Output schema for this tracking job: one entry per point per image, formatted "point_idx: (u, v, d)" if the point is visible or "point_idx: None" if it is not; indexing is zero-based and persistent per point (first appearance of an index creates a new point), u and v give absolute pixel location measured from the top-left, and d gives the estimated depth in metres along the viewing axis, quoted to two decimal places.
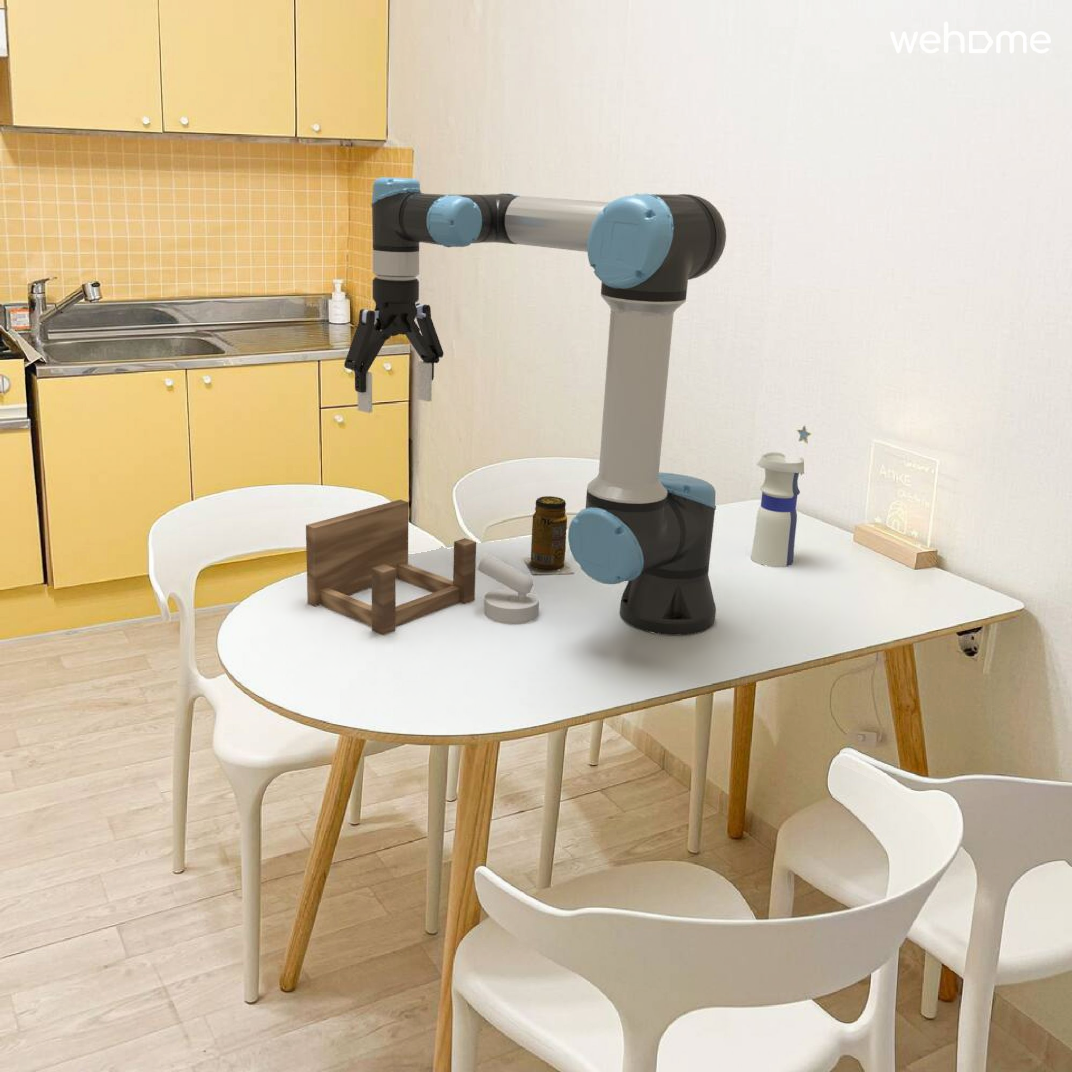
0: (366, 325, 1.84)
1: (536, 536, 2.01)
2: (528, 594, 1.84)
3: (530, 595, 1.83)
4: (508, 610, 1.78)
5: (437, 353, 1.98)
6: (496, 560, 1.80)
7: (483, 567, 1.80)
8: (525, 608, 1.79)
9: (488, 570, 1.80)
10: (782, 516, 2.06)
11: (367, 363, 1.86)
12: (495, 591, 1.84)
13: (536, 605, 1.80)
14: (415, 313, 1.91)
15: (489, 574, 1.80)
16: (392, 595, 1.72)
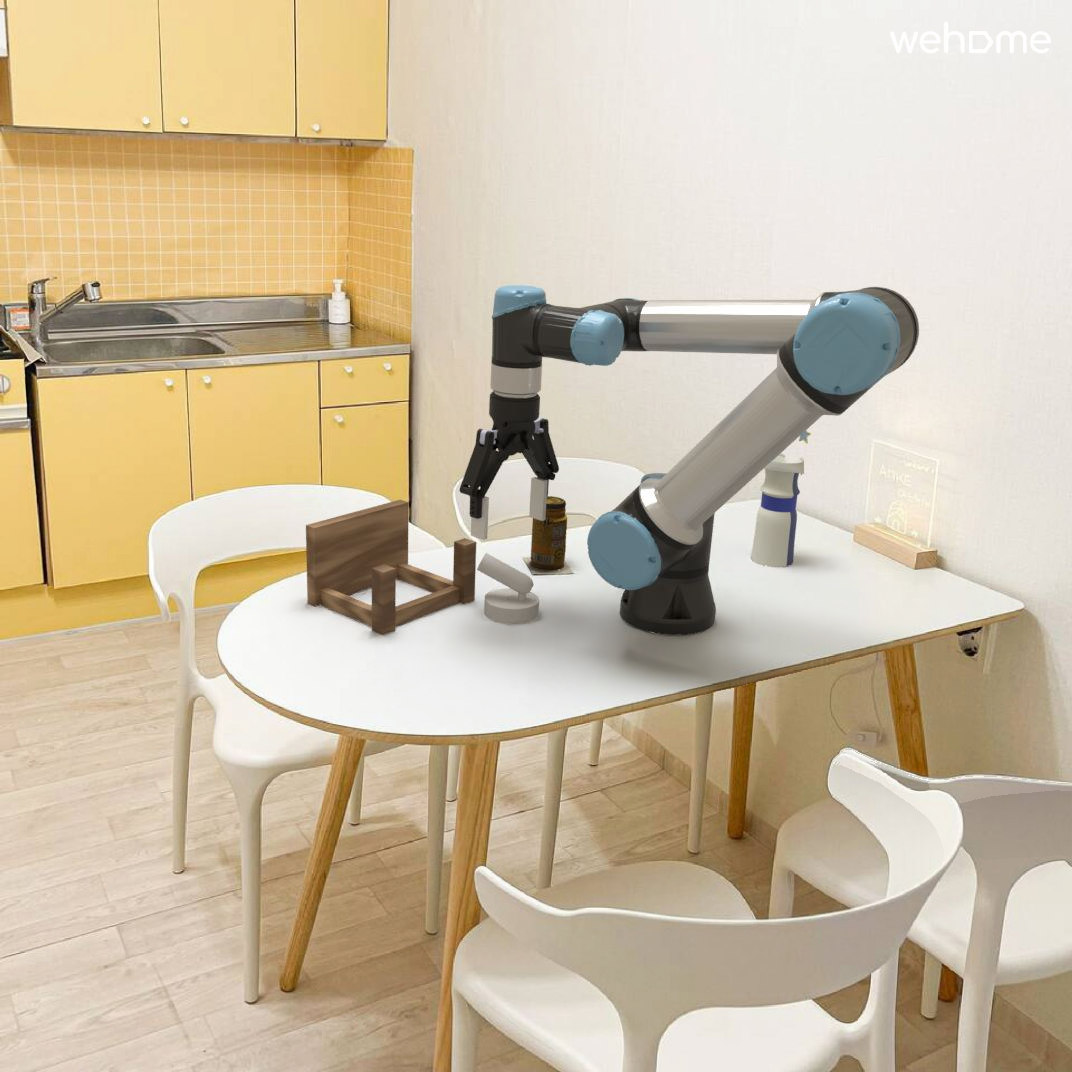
0: (484, 447, 1.68)
1: (536, 536, 2.01)
2: (528, 594, 1.84)
3: (530, 595, 1.83)
4: (508, 610, 1.78)
5: (552, 469, 1.82)
6: (496, 560, 1.80)
7: (483, 567, 1.80)
8: (525, 608, 1.79)
9: (488, 570, 1.80)
10: (782, 516, 2.06)
11: (484, 488, 1.70)
12: (495, 591, 1.84)
13: (536, 605, 1.80)
14: (533, 429, 1.75)
15: (489, 574, 1.80)
16: (392, 595, 1.72)
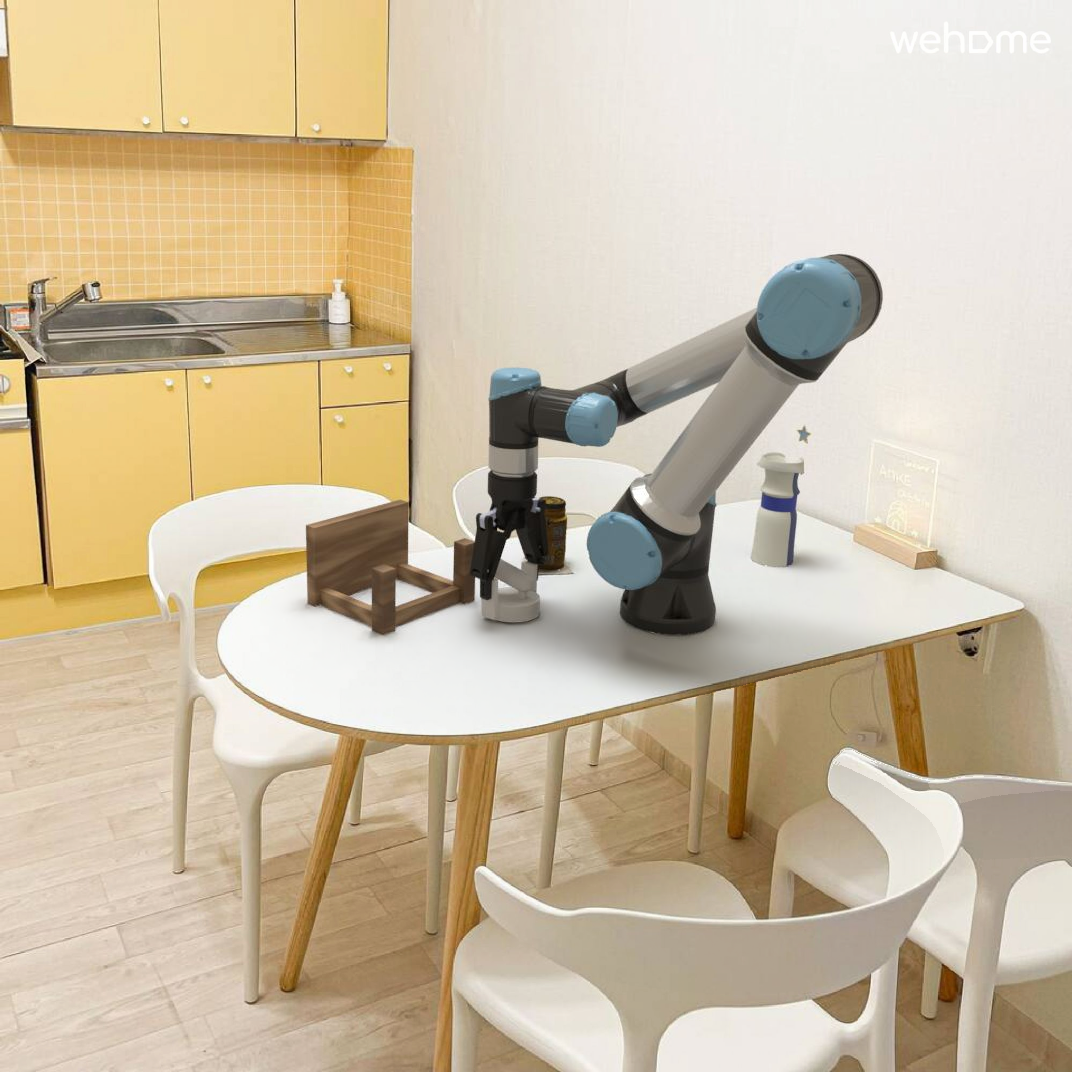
0: (486, 532, 1.73)
1: None
2: (529, 592, 1.83)
3: (531, 593, 1.83)
4: (508, 608, 1.77)
5: (542, 551, 1.84)
6: None
7: None
8: (526, 605, 1.78)
9: None
10: (782, 516, 2.06)
11: (492, 570, 1.75)
12: None
13: (537, 603, 1.80)
14: (531, 506, 1.79)
15: None
16: (392, 595, 1.72)
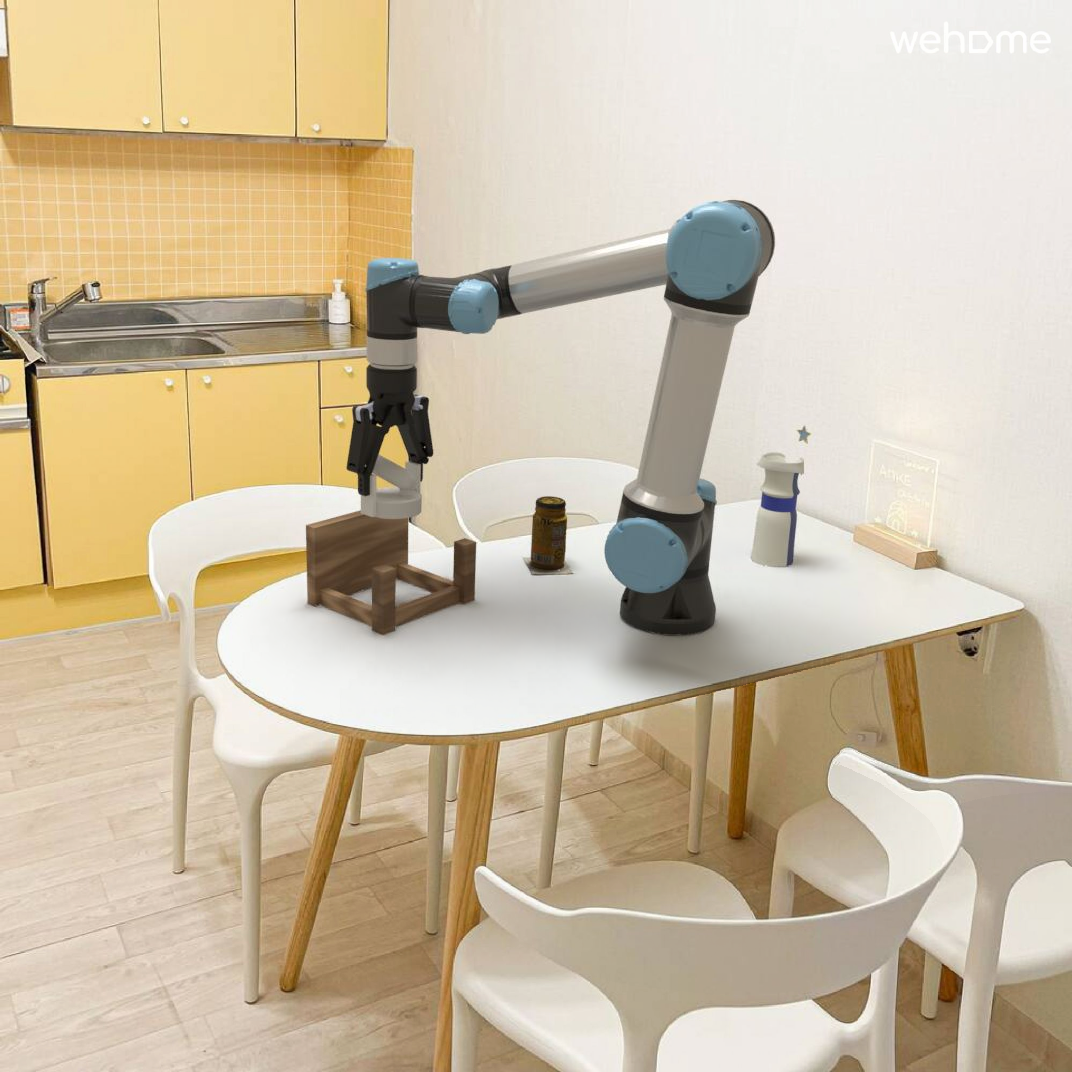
0: (362, 424, 1.70)
1: (536, 536, 2.01)
2: (412, 492, 1.81)
3: (413, 492, 1.80)
4: (387, 504, 1.75)
5: (427, 451, 1.82)
6: None
7: None
8: (405, 502, 1.76)
9: None
10: (782, 516, 2.06)
11: (370, 465, 1.73)
12: (379, 489, 1.82)
13: (417, 501, 1.77)
14: (412, 402, 1.77)
15: None
16: (392, 595, 1.72)
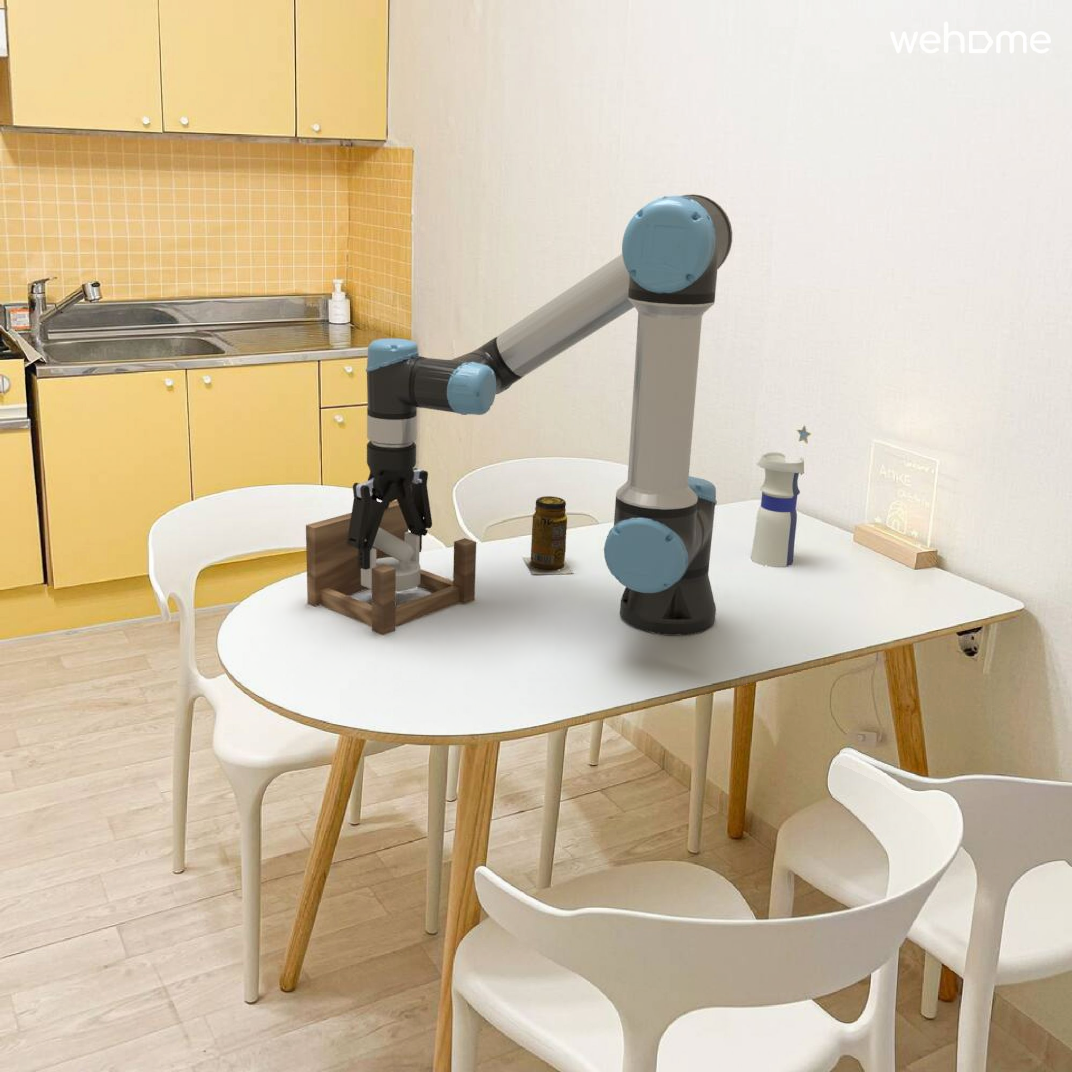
0: (362, 501, 1.74)
1: (536, 536, 2.01)
2: (411, 563, 1.85)
3: (412, 564, 1.84)
4: None
5: (426, 523, 1.86)
6: None
7: None
8: (404, 575, 1.79)
9: None
10: (782, 516, 2.06)
11: (370, 540, 1.77)
12: (379, 559, 1.85)
13: (416, 573, 1.81)
14: (411, 477, 1.80)
15: None
16: (392, 595, 1.72)
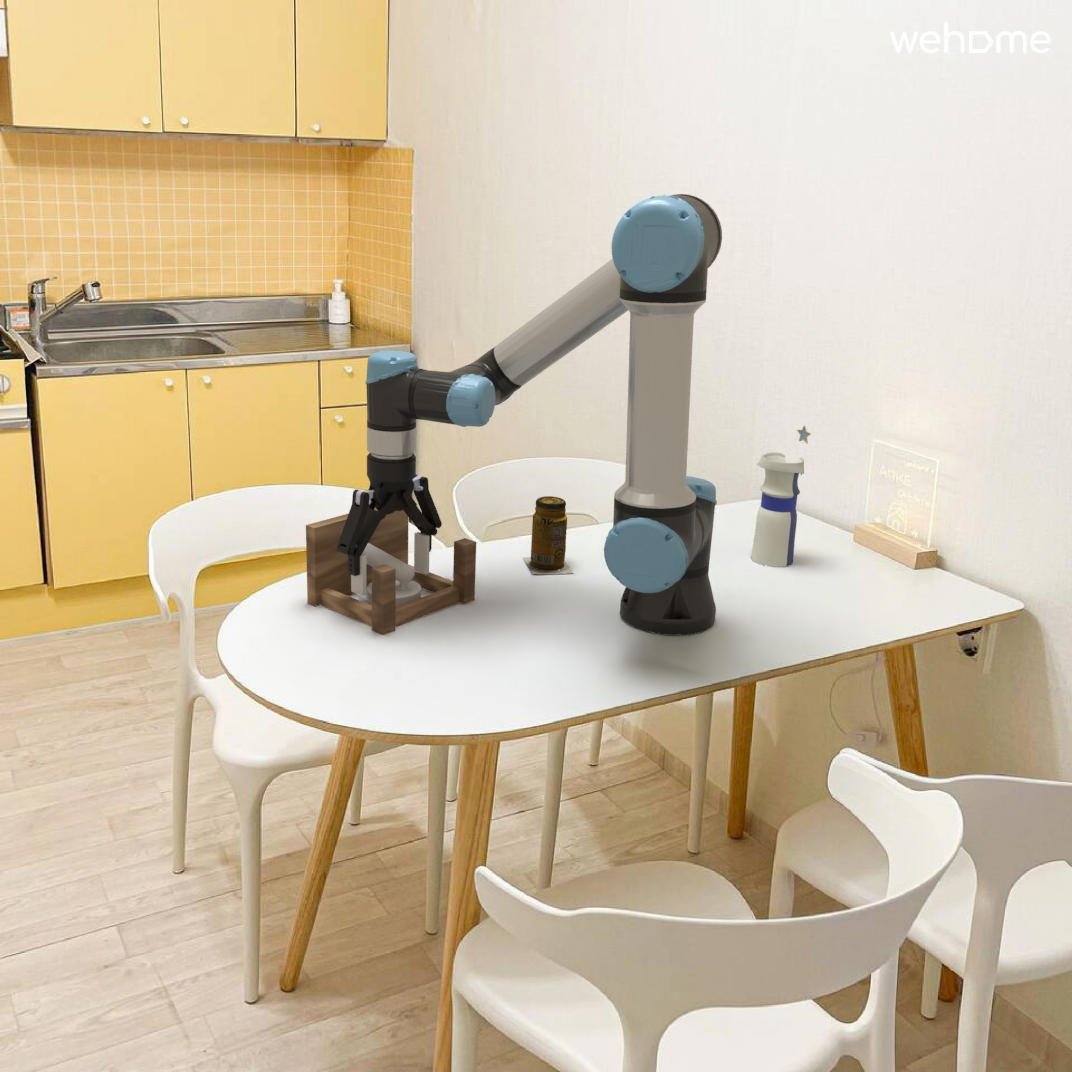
0: (360, 507, 1.74)
1: (536, 536, 2.01)
2: (411, 583, 1.86)
3: (413, 585, 1.85)
4: None
5: (435, 524, 1.87)
6: (377, 550, 1.82)
7: None
8: (404, 597, 1.81)
9: (369, 560, 1.82)
10: (782, 516, 2.06)
11: (361, 546, 1.76)
12: None
13: (417, 594, 1.82)
14: (412, 488, 1.81)
15: (370, 564, 1.82)
16: (392, 595, 1.72)
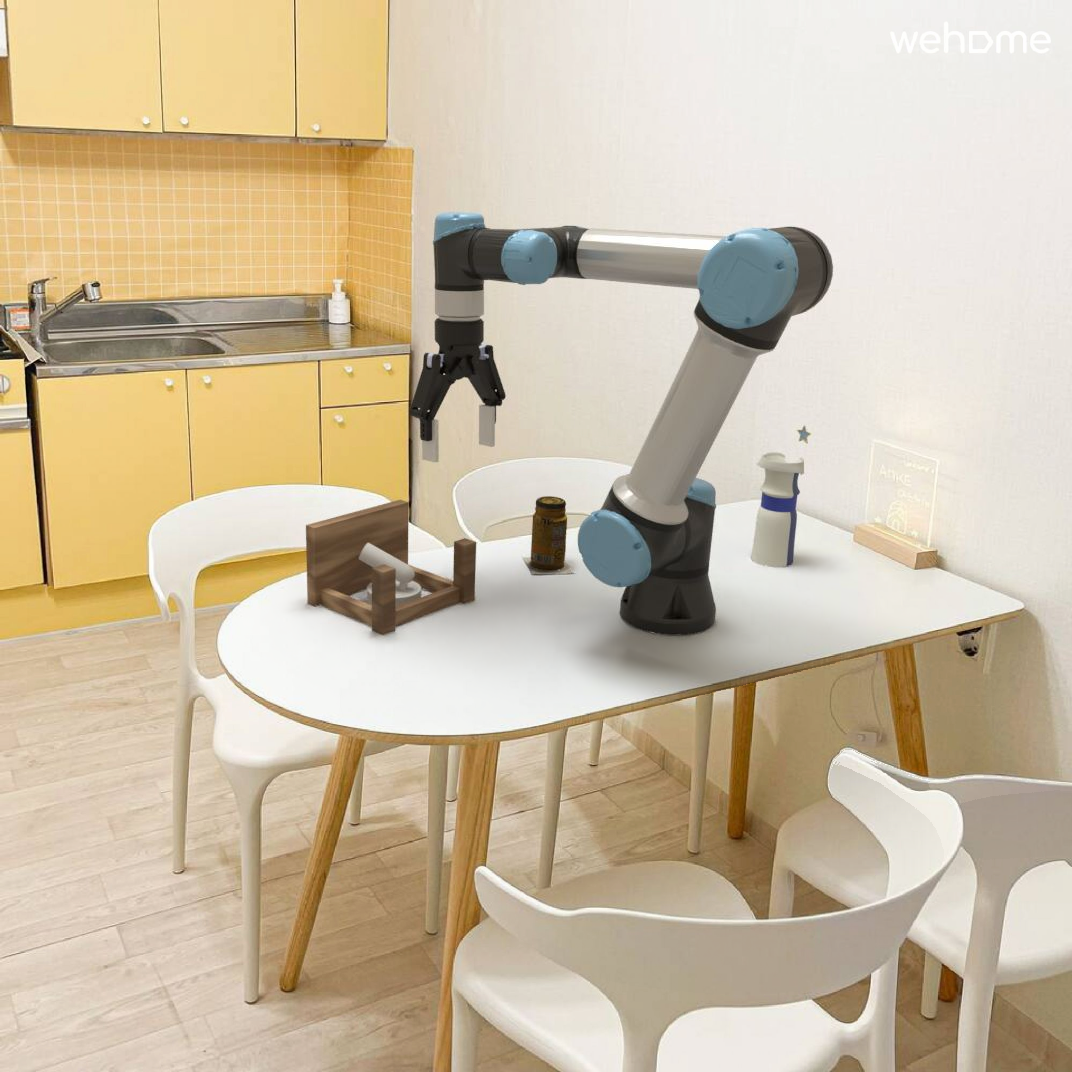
0: (432, 370, 1.73)
1: (536, 536, 2.01)
2: (411, 584, 1.86)
3: (413, 585, 1.85)
4: None
5: (499, 395, 1.87)
6: (377, 550, 1.82)
7: (364, 557, 1.82)
8: (405, 597, 1.81)
9: (369, 560, 1.82)
10: (782, 516, 2.06)
11: (433, 410, 1.74)
12: None
13: (417, 594, 1.82)
14: (478, 354, 1.80)
15: (370, 564, 1.82)
16: (392, 595, 1.72)
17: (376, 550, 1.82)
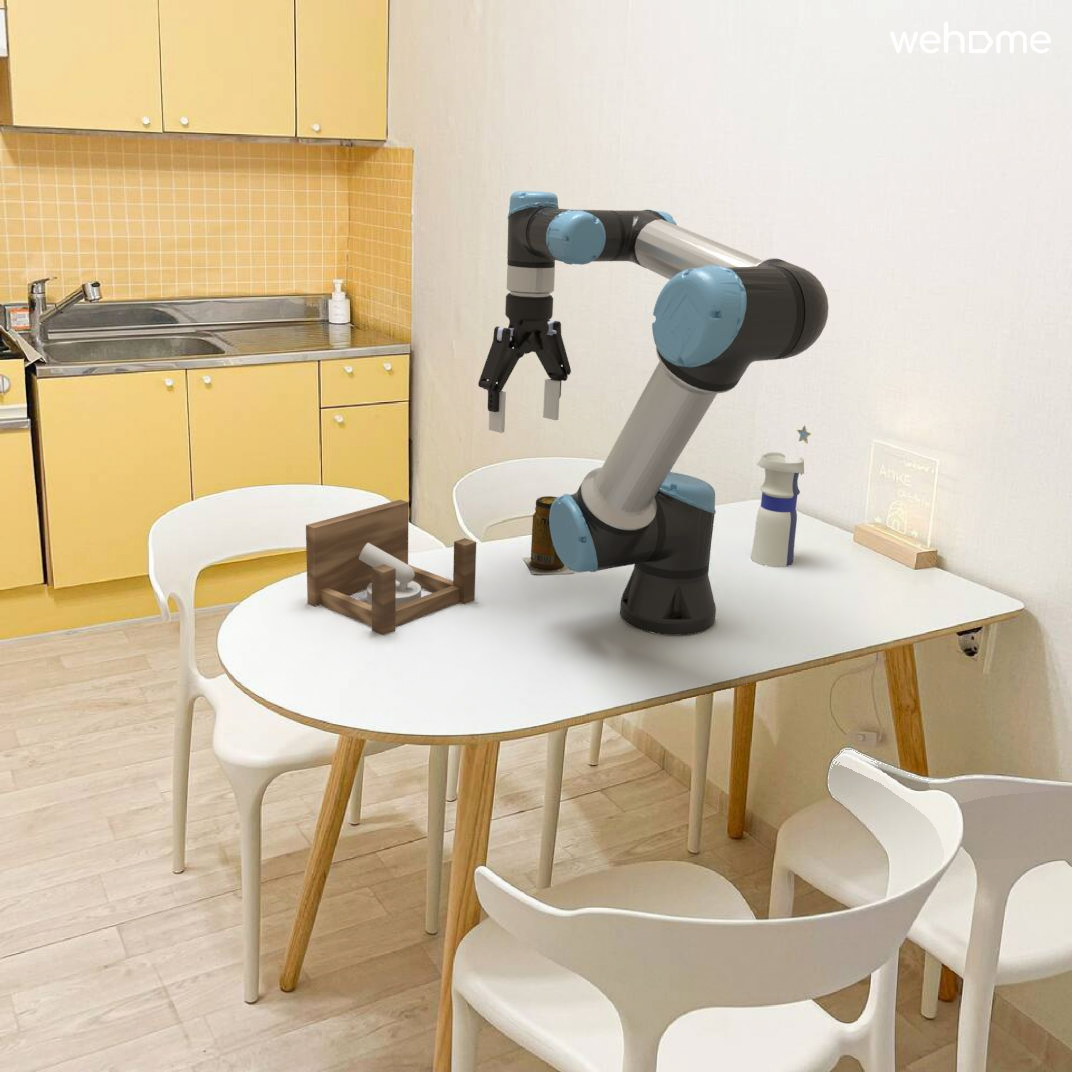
0: (502, 343, 1.79)
1: (536, 536, 2.01)
2: (411, 584, 1.86)
3: (413, 585, 1.85)
4: None
5: (565, 370, 1.92)
6: (377, 550, 1.82)
7: (364, 557, 1.82)
8: (405, 597, 1.81)
9: (369, 560, 1.82)
10: (782, 516, 2.06)
11: (501, 382, 1.81)
12: None
13: (417, 594, 1.82)
14: (547, 330, 1.86)
15: (370, 564, 1.82)
16: (392, 595, 1.72)
17: (376, 550, 1.82)
